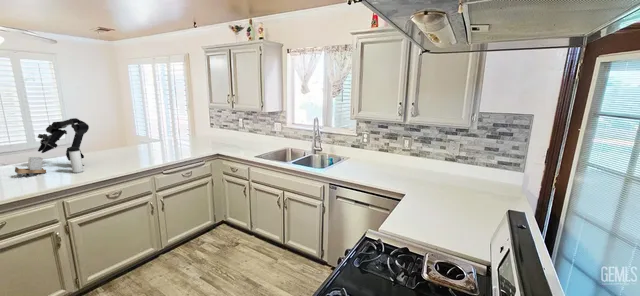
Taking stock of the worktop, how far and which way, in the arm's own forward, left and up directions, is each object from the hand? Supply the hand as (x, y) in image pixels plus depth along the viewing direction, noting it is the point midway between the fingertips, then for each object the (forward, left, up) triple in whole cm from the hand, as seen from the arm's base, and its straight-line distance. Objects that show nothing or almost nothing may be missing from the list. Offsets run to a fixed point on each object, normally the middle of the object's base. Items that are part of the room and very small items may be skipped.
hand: (40, 152), depth 215 cm
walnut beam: (-7, +16, -11) cm, 21 cm away
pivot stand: (-7, +15, -13) cm, 21 cm away
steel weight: (-8, +13, -10) cm, 19 cm away
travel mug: (-34, +6, -14) cm, 38 cm away
